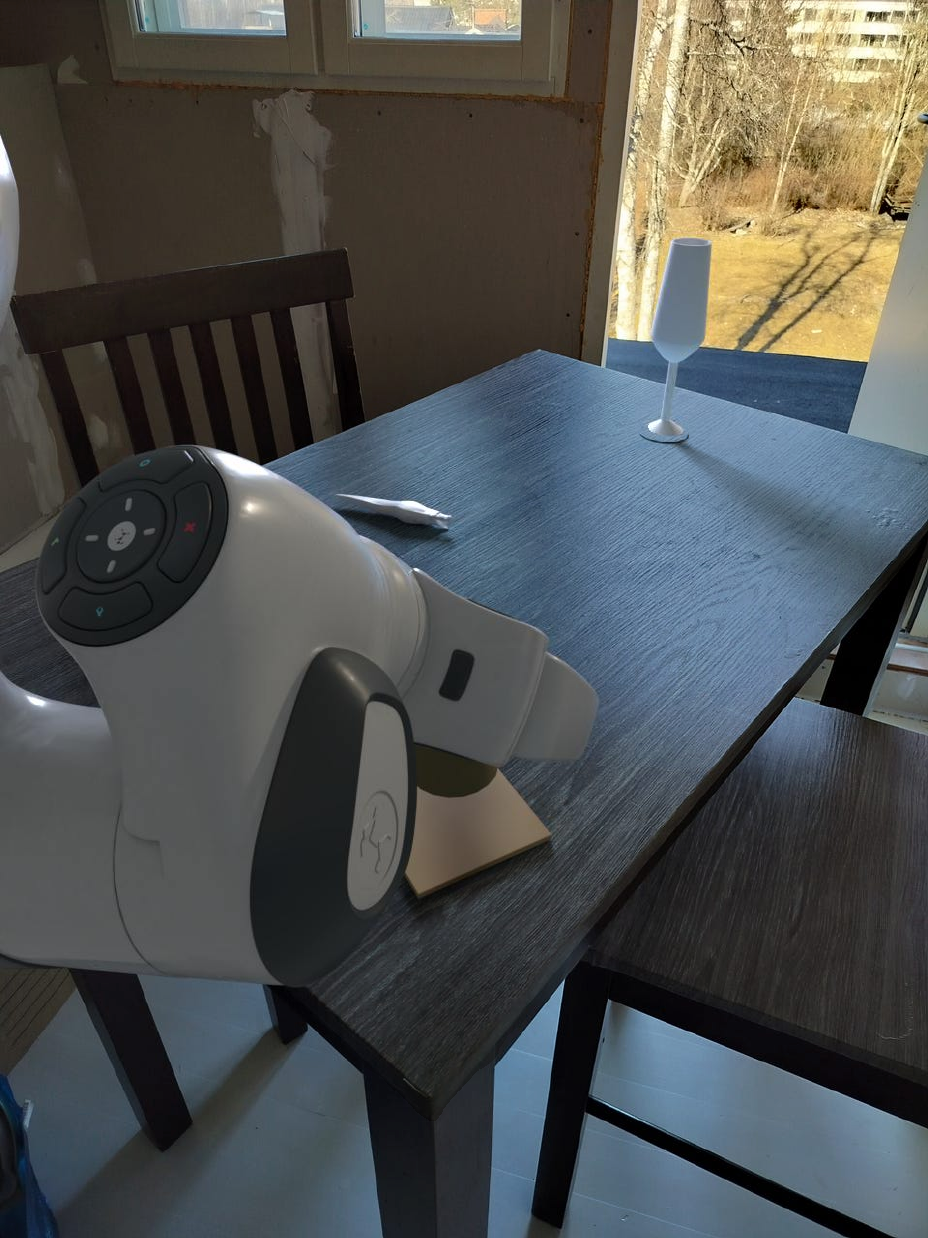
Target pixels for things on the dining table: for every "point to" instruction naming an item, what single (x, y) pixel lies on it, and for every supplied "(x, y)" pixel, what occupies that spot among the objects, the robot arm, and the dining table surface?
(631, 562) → the dining table surface
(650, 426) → the champagne flute
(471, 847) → the coaster
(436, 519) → the white animal figurine
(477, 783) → the olive game pawn
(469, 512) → the dining table surface
